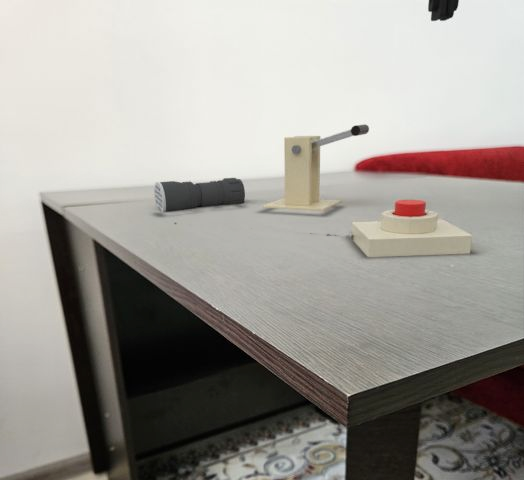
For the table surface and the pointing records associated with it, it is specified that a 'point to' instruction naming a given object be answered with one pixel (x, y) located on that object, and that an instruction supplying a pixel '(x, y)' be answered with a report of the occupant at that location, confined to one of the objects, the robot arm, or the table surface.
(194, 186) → the flashlight
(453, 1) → the robot arm
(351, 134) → the switch
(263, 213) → the table surface
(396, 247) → the beige button housing
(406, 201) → the light button
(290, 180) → the switch bracket
